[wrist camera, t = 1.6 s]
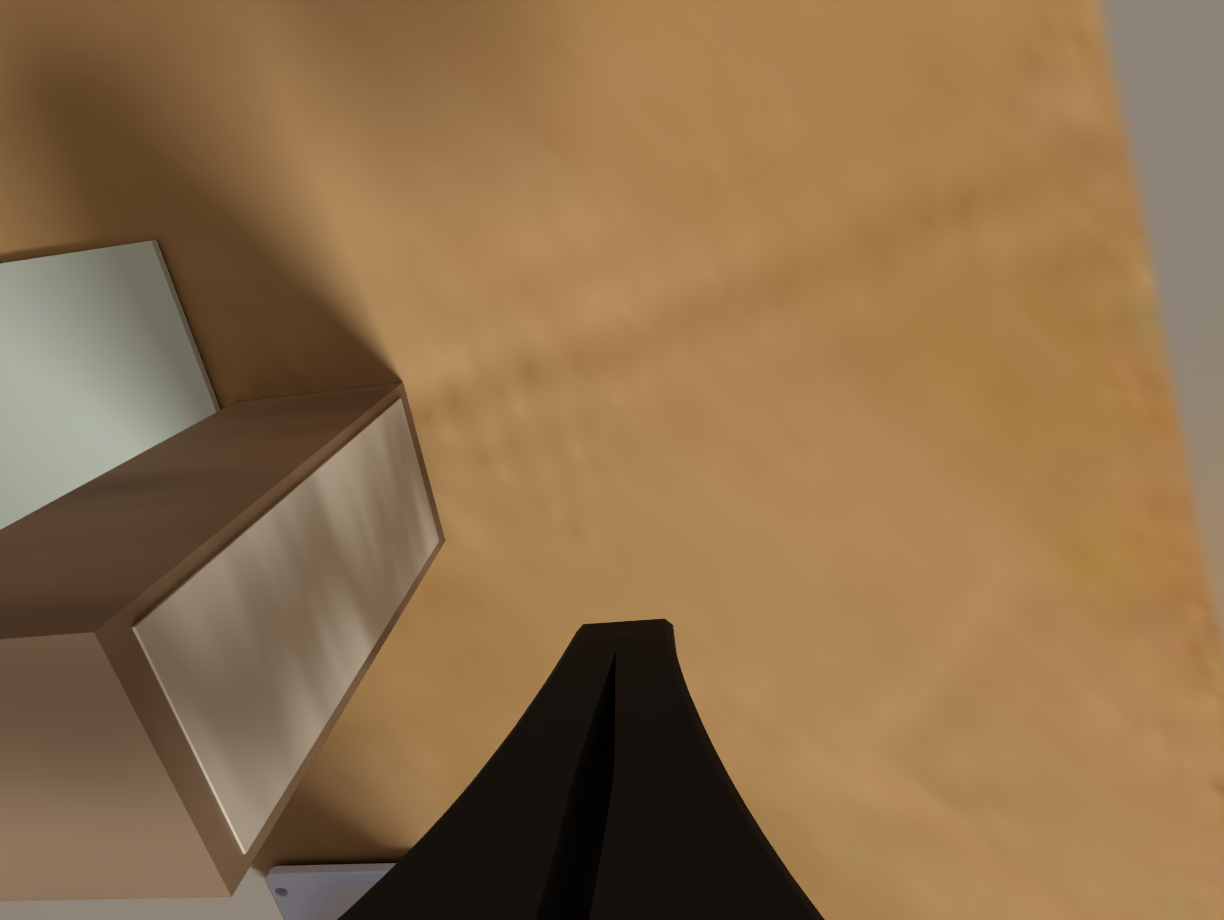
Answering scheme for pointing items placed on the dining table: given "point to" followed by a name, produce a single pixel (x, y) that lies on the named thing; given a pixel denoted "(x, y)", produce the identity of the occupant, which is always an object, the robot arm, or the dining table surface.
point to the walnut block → (198, 639)
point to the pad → (90, 369)
